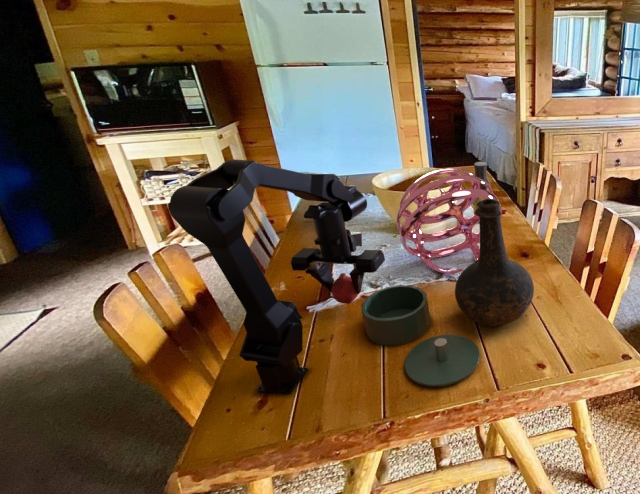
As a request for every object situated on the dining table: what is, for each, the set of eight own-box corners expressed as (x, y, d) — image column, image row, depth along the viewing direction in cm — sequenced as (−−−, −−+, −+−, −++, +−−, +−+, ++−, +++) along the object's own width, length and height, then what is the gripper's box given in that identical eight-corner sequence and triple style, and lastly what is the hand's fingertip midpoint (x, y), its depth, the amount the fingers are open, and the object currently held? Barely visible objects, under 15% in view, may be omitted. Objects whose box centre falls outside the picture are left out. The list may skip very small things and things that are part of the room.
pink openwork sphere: (518, 217, 103) (475, 133, 114) (403, 263, 98) (369, 171, 108) (520, 263, 129) (484, 192, 139) (429, 303, 123) (399, 225, 133)
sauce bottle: (471, 217, 153) (467, 161, 144) (489, 214, 155) (485, 159, 146) (477, 224, 147) (473, 166, 138) (495, 221, 150) (492, 164, 141)
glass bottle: (520, 286, 113) (516, 182, 100) (546, 326, 98) (546, 210, 85) (450, 301, 107) (438, 192, 94) (467, 346, 92) (454, 224, 79)
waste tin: (419, 347, 92) (415, 321, 89) (356, 344, 93) (350, 319, 90) (437, 309, 104) (434, 285, 101) (381, 307, 105) (376, 284, 102)
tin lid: (471, 391, 81) (469, 370, 79) (394, 387, 82) (390, 366, 80) (485, 339, 94) (484, 320, 92) (418, 337, 95) (415, 318, 93)
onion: (352, 312, 99) (345, 281, 95) (329, 309, 100) (321, 279, 96) (366, 298, 104) (360, 268, 100) (345, 295, 105) (337, 266, 101)
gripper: (388, 216, 100) (398, 275, 107) (309, 214, 101) (324, 273, 108) (367, 237, 90) (380, 301, 97) (280, 235, 91) (299, 298, 98)
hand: (346, 292), depth 100 cm, fingers closed on onion, 6 cm apart
